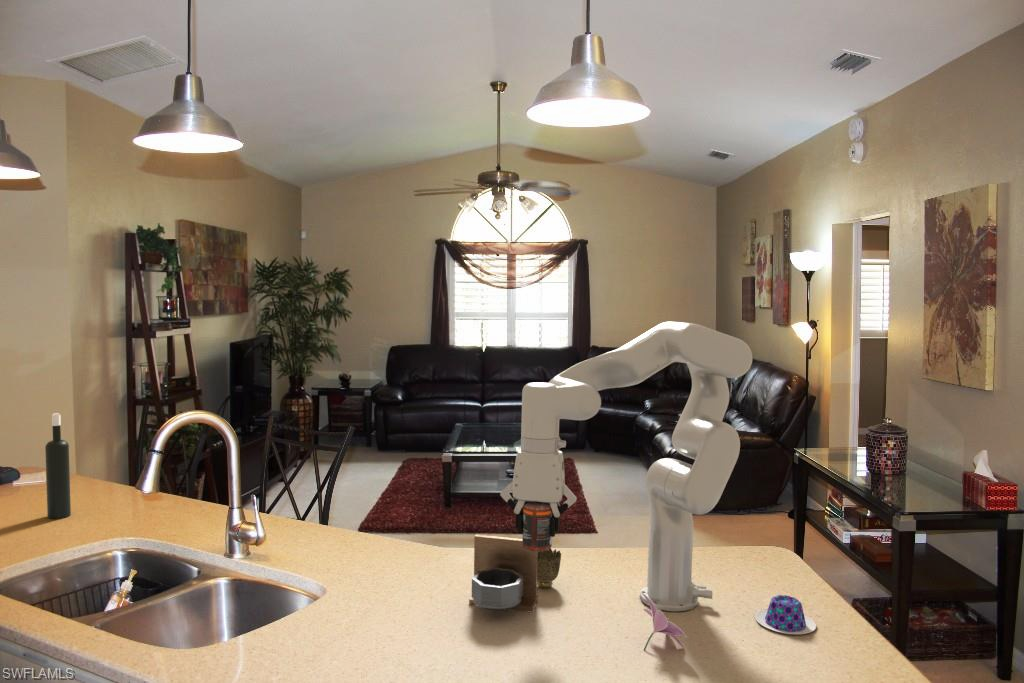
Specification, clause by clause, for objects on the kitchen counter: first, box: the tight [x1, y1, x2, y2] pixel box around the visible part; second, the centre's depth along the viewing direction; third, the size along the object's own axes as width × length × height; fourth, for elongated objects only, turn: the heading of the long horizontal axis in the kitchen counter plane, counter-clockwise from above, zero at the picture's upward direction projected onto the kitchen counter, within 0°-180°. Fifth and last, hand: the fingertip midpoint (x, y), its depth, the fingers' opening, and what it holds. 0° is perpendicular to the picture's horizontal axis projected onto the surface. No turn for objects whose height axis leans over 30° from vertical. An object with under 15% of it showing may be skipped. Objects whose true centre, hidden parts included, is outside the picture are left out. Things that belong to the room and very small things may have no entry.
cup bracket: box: [468, 534, 539, 613], centre depth 160 cm, size 14×14×14 cm
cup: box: [537, 547, 562, 590], centre depth 173 cm, size 8×7×8 cm
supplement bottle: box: [521, 501, 553, 552], centre depth 151 cm, size 6×6×11 cm
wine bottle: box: [44, 412, 72, 520], centre depth 217 cm, size 6×6×30 cm
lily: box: [641, 592, 689, 651], centre depth 146 cm, size 12×12×10 cm
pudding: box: [754, 594, 817, 635], centre depth 157 cm, size 12×12×5 cm
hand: (537, 532), depth 152 cm, fingers closed on supplement bottle, 6 cm apart
